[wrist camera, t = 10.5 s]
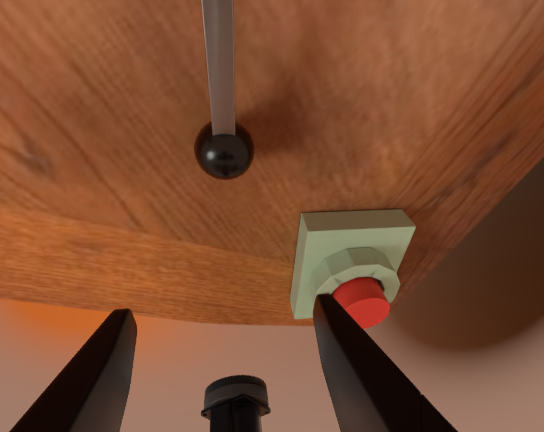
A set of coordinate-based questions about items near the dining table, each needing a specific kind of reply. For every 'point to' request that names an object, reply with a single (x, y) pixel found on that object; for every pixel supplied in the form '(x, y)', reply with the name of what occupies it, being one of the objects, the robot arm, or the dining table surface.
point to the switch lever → (222, 99)
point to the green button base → (347, 253)
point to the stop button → (363, 300)
